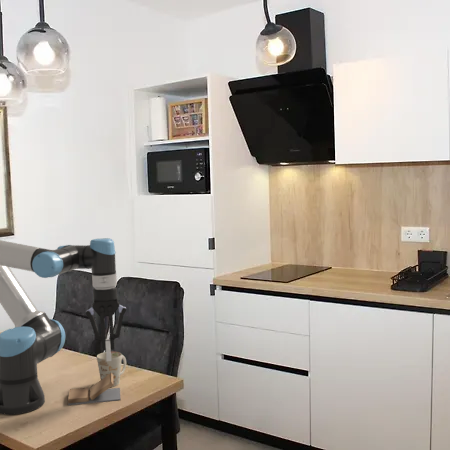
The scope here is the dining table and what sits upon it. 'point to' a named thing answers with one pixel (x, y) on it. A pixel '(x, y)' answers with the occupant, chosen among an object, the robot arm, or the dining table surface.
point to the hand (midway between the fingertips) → (108, 359)
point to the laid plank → (79, 395)
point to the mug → (111, 366)
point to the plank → (101, 386)
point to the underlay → (104, 397)
